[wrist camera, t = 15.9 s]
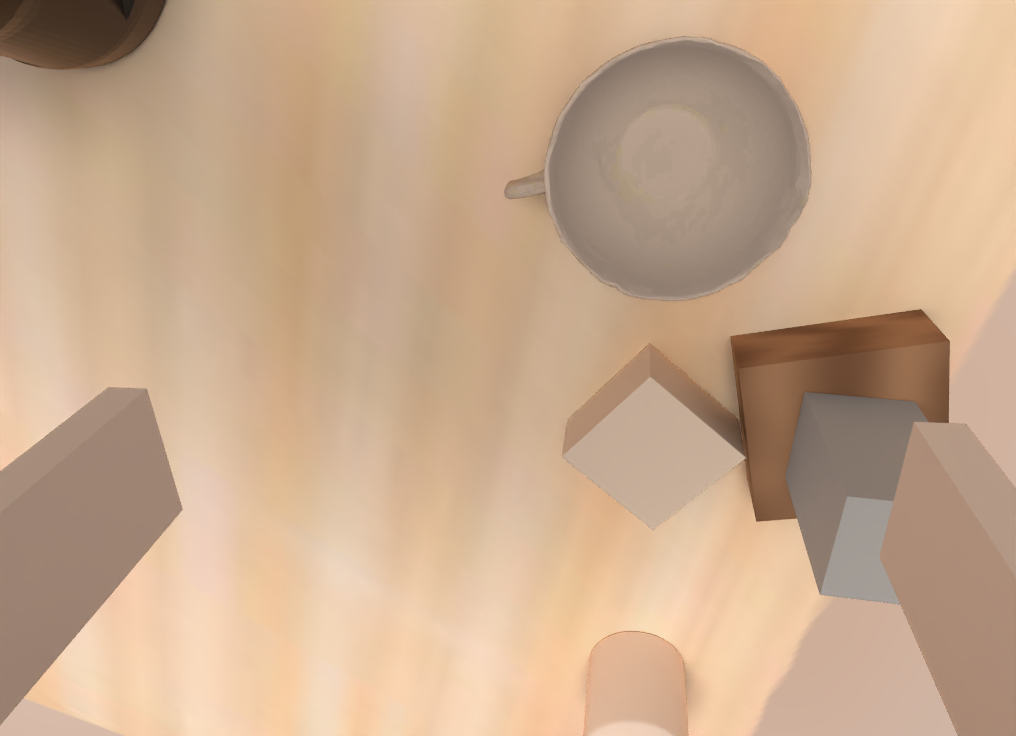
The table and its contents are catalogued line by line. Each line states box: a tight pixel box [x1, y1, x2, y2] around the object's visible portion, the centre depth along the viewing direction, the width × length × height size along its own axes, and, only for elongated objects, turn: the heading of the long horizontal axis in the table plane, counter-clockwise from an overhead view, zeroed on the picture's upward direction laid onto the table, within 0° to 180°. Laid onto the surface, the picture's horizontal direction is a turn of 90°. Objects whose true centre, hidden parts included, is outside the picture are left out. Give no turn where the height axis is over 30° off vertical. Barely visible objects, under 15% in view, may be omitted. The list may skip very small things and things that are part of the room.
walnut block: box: [731, 309, 950, 522], centre depth 46 cm, size 11×11×5 cm
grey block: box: [562, 343, 746, 530], centre depth 48 cm, size 8×8×5 cm
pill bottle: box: [583, 632, 689, 736], centre depth 56 cm, size 8×8×11 cm
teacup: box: [504, 36, 811, 301], centre depth 39 cm, size 15×12×8 cm
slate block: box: [785, 392, 928, 604], centre depth 39 cm, size 6×6×10 cm
